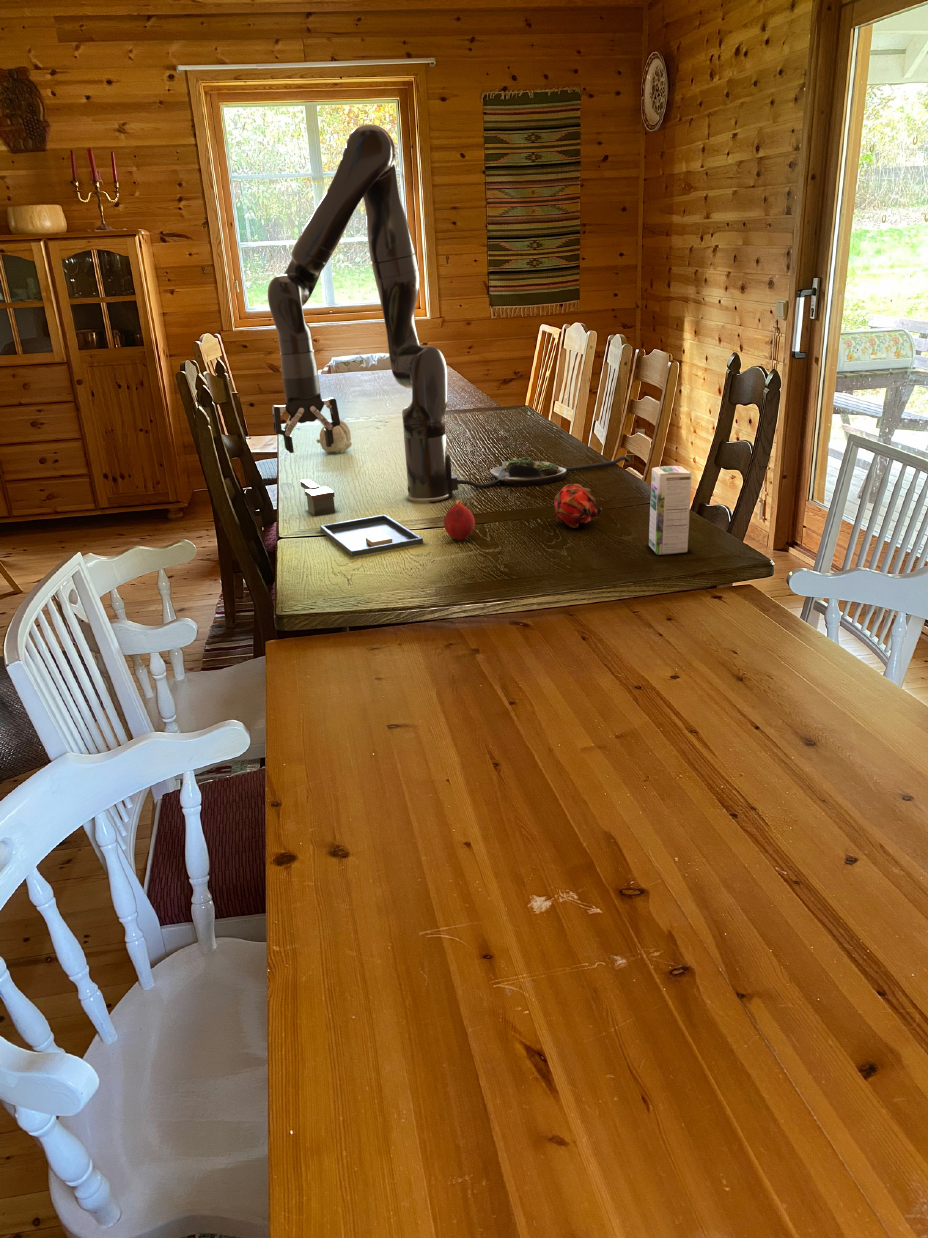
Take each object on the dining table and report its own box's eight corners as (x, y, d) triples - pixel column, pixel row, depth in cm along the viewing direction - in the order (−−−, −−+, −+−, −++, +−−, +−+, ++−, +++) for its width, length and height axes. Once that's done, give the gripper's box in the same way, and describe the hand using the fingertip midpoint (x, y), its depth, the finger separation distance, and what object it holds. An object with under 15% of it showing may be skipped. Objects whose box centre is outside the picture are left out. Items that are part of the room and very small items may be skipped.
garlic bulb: (350, 458, 263) (359, 424, 260) (343, 459, 255) (352, 424, 252) (319, 448, 263) (327, 414, 261) (311, 449, 255) (319, 414, 252)
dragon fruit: (568, 522, 188) (588, 546, 178) (536, 503, 184) (555, 527, 174) (593, 488, 186) (614, 511, 176) (561, 468, 182) (582, 490, 172)
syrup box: (647, 545, 166) (649, 466, 161) (679, 543, 167) (682, 464, 161) (656, 555, 161) (658, 474, 155) (689, 552, 161) (692, 471, 156)
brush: (336, 512, 199) (334, 490, 197) (314, 516, 197) (311, 493, 195) (317, 499, 211) (315, 478, 209) (296, 502, 209) (293, 481, 207)
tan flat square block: (385, 538, 178) (384, 533, 178) (392, 543, 175) (392, 538, 174) (365, 541, 177) (365, 536, 176) (372, 547, 173) (372, 542, 173)
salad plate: (474, 472, 227) (473, 454, 225) (540, 463, 232) (540, 445, 230) (504, 489, 210) (503, 469, 208) (574, 479, 215) (574, 460, 213)
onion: (472, 546, 172) (470, 504, 169) (442, 545, 173) (439, 504, 170) (478, 536, 177) (476, 496, 174) (449, 536, 178) (446, 496, 175)
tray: (386, 520, 191) (385, 514, 190) (423, 545, 174) (422, 538, 173) (320, 532, 186) (319, 525, 185) (352, 558, 169) (351, 551, 168)
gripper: (270, 380, 189) (282, 457, 195) (337, 371, 194) (346, 447, 200) (263, 376, 195) (274, 451, 201) (327, 368, 200) (336, 441, 206)
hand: (310, 449), depth 201 cm, fingers open, 8 cm apart
